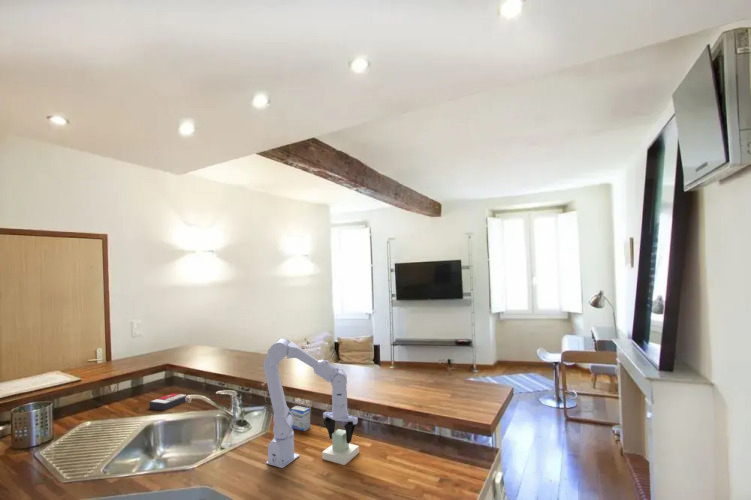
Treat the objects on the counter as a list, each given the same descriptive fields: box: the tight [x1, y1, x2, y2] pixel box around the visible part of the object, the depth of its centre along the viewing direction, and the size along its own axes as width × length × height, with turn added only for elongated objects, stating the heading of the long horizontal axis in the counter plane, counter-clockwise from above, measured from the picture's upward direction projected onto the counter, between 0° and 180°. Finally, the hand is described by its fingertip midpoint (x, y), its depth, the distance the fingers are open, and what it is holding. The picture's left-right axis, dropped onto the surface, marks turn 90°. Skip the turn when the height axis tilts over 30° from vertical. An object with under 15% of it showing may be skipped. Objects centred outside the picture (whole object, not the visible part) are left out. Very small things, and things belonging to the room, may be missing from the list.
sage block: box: [331, 428, 350, 452], centre depth 138 cm, size 4×4×6 cm
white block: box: [321, 443, 360, 466], centre depth 138 cm, size 10×10×3 cm
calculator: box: [148, 392, 188, 411], centre depth 198 cm, size 11×4×15 cm
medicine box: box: [290, 405, 311, 432], centre depth 163 cm, size 8×4×9 cm, turn 62°
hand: (340, 440), depth 138 cm, fingers open, 7 cm apart
